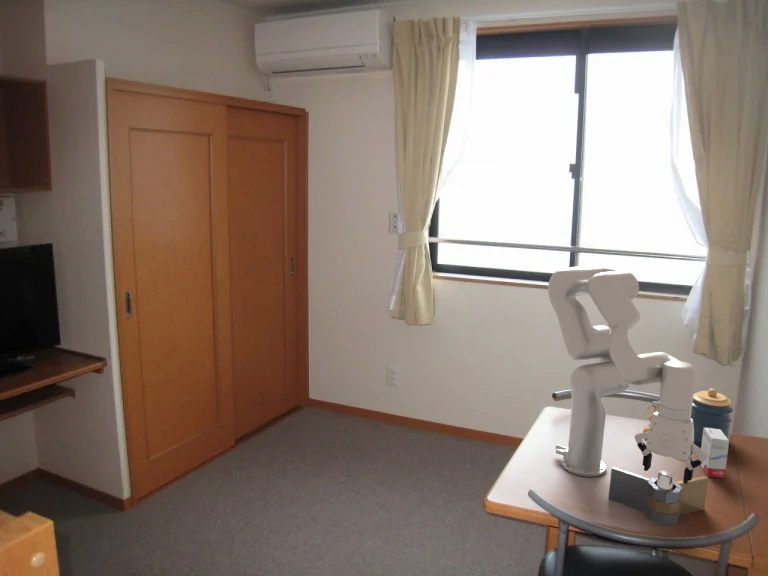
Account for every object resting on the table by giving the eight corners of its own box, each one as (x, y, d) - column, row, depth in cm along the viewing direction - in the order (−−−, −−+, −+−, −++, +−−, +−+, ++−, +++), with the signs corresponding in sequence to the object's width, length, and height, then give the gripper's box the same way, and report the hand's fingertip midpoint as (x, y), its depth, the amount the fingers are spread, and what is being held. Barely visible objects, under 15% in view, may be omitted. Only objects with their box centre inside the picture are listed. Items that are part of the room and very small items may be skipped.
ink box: (725, 478, 182) (730, 440, 180) (706, 476, 183) (711, 438, 181) (716, 464, 191) (721, 428, 188) (698, 463, 191) (703, 426, 189)
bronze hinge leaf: (660, 527, 157) (664, 494, 155) (639, 511, 164) (642, 480, 162) (713, 515, 163) (718, 484, 161) (691, 501, 170) (695, 470, 168)
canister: (710, 430, 215) (717, 381, 211) (737, 447, 202) (745, 395, 199) (676, 432, 213) (682, 382, 209) (700, 449, 200) (707, 397, 197)
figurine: (634, 434, 211) (638, 400, 208) (647, 430, 213) (651, 397, 211) (654, 444, 203) (659, 409, 201) (667, 440, 206) (672, 406, 204)
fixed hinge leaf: (681, 516, 162) (685, 484, 160) (671, 528, 157) (676, 495, 155) (614, 492, 173) (617, 462, 171) (603, 503, 168) (607, 472, 166)
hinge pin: (650, 517, 162) (656, 474, 159) (655, 511, 164) (661, 469, 162) (665, 522, 160) (671, 479, 157) (669, 516, 162) (675, 473, 160)
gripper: (633, 406, 159) (626, 469, 162) (708, 426, 148) (699, 493, 151) (643, 398, 164) (636, 459, 168) (716, 416, 153) (707, 481, 157)
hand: (666, 475), depth 160 cm, fingers open, 9 cm apart
